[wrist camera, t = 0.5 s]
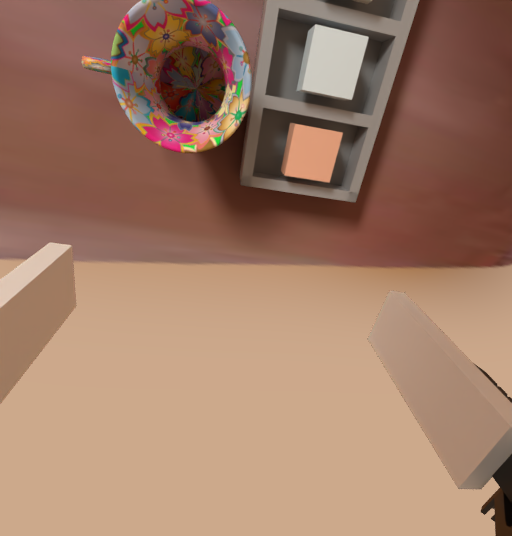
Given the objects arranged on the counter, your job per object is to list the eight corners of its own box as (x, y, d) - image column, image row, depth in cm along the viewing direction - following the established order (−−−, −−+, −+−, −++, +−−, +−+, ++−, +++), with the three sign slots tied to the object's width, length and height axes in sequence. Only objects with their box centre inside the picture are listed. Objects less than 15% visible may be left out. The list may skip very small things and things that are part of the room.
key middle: (308, 31, 26) (315, 24, 24) (357, 42, 26) (368, 36, 24) (296, 91, 28) (302, 89, 26) (342, 100, 28) (351, 99, 26)
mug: (251, 42, 29) (263, 9, 19) (237, 147, 33) (241, 162, 23) (116, 11, 27) (56, -41, 18) (119, 126, 31) (72, 134, 22)
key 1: (290, 122, 29) (295, 123, 27) (334, 130, 29) (343, 132, 27) (280, 170, 31) (284, 175, 29) (322, 177, 31) (329, 182, 29)
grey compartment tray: (278, -106, 24) (288, -147, 20) (415, -65, 26) (449, -96, 22) (239, 176, 34) (240, 185, 30) (341, 192, 36) (355, 202, 32)
